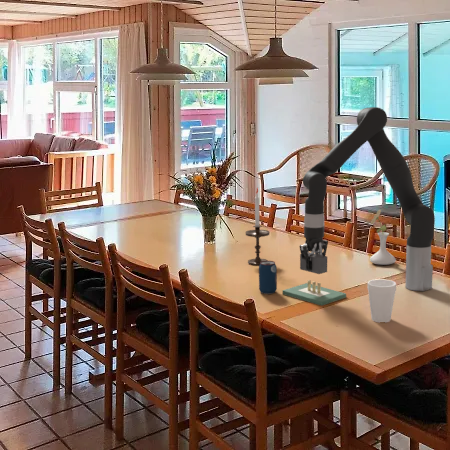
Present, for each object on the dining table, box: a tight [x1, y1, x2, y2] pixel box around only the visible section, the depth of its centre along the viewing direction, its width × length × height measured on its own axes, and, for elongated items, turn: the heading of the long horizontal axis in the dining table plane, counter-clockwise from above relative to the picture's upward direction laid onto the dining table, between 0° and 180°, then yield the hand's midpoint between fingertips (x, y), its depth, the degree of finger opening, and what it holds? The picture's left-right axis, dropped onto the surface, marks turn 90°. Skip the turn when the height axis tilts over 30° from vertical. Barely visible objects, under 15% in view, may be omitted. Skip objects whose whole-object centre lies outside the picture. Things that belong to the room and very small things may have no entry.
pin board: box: [282, 279, 347, 307], centre depth 259 cm, size 20×14×6 cm
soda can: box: [258, 260, 278, 295], centre depth 265 cm, size 7×7×12 cm
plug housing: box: [299, 253, 328, 275], centre depth 257 cm, size 10×5×6 cm, turn 41°
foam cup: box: [367, 278, 397, 323], centre depth 230 cm, size 10×9×13 cm
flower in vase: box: [369, 209, 397, 266], centre depth 300 cm, size 13×11×25 cm
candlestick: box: [245, 187, 270, 266], centre depth 306 cm, size 11×11×35 cm
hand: (313, 268), depth 257 cm, fingers closed on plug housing, 4 cm apart
